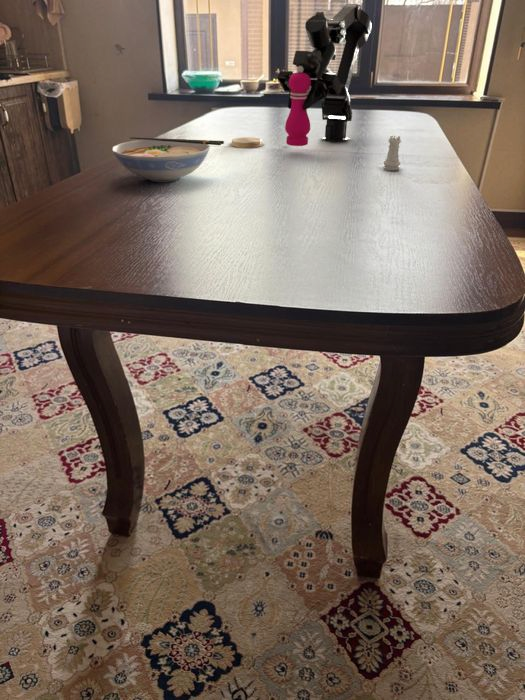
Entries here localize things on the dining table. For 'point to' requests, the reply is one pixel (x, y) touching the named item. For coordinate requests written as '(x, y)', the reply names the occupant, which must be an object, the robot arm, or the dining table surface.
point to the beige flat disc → (246, 142)
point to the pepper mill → (298, 109)
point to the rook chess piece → (392, 155)
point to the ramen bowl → (163, 157)
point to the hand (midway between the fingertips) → (296, 108)
